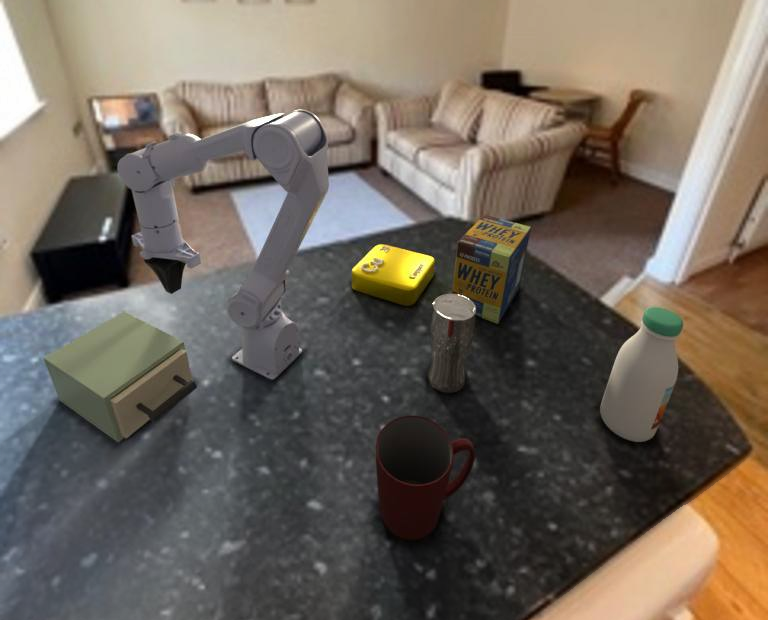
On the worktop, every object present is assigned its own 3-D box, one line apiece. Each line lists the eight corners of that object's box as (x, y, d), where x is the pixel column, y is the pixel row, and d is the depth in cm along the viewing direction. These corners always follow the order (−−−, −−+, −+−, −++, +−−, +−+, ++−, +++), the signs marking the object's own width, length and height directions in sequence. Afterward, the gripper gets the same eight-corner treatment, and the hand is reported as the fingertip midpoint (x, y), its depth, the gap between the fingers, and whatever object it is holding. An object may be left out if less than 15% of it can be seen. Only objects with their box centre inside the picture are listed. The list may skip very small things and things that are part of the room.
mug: (454, 464, 61) (462, 406, 56) (480, 532, 53) (492, 471, 49) (368, 481, 59) (369, 421, 54) (382, 555, 51) (385, 493, 46)
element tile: (411, 309, 92) (413, 289, 90) (348, 289, 97) (347, 270, 95) (436, 273, 104) (437, 255, 102) (378, 257, 110) (378, 240, 108)
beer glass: (471, 371, 76) (482, 300, 70) (460, 401, 71) (470, 326, 64) (433, 358, 79) (440, 288, 73) (419, 386, 73) (425, 312, 67)
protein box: (449, 307, 93) (456, 241, 86) (476, 272, 105) (484, 213, 98) (498, 325, 88) (510, 257, 81) (521, 287, 100) (532, 225, 93)
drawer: (212, 394, 70) (205, 361, 67) (145, 452, 61) (135, 417, 58) (139, 353, 77) (130, 321, 74) (70, 399, 68) (57, 365, 65)
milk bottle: (632, 452, 63) (675, 342, 55) (587, 411, 70) (619, 307, 61) (666, 431, 67) (711, 324, 58) (620, 394, 73) (655, 293, 64)
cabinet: (192, 382, 73) (183, 341, 69) (118, 442, 63) (103, 398, 59) (135, 350, 79) (124, 311, 75) (59, 400, 69) (43, 357, 65)
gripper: (107, 219, 72) (126, 288, 78) (167, 242, 66) (182, 316, 72) (147, 204, 78) (161, 270, 84) (205, 223, 72) (217, 293, 78)
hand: (173, 290), depth 78 cm, fingers closed
